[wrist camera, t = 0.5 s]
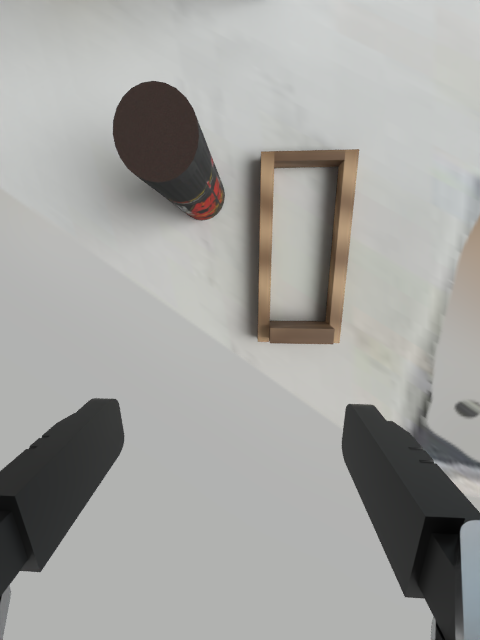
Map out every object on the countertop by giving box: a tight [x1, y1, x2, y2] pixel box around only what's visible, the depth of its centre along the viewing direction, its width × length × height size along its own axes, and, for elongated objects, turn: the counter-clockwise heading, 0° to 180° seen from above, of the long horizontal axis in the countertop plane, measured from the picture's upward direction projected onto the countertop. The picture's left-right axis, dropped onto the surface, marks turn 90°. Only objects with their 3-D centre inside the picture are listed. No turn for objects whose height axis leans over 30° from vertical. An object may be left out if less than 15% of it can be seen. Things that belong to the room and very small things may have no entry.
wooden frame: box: [258, 149, 359, 344], centre depth 30 cm, size 23×11×4 cm, turn 0°
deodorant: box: [113, 81, 225, 220], centre depth 23 cm, size 6×6×15 cm
